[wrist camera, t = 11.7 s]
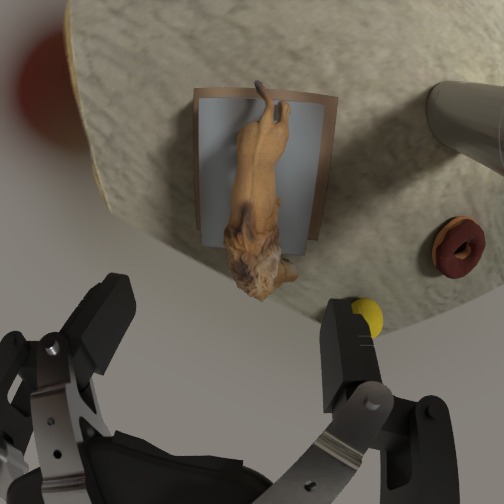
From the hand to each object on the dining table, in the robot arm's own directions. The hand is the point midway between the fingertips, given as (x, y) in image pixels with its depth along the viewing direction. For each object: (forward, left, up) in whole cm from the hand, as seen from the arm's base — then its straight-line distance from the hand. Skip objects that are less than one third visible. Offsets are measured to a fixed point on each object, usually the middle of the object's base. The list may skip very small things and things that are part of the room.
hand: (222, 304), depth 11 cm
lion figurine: (-1, -1, -15) cm, 15 cm away
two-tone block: (0, 0, -25) cm, 25 cm away
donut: (-31, +8, -25) cm, 41 cm away
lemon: (-17, +21, -25) cm, 37 cm away
